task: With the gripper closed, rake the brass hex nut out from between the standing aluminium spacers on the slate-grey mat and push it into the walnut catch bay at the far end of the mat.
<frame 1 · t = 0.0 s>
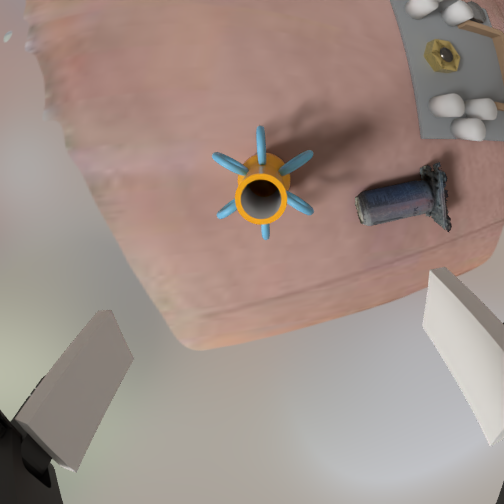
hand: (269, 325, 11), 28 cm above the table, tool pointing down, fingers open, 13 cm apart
cylinder: (265, 175, 36), on the table
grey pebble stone: (473, 13, 22), point 1 cm above the table, touching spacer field
dark piece: (393, 197, 36), on the table
nut: (437, 57, 27), point 1 cm above the table, touching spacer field
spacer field: (460, 63, 27), on the table
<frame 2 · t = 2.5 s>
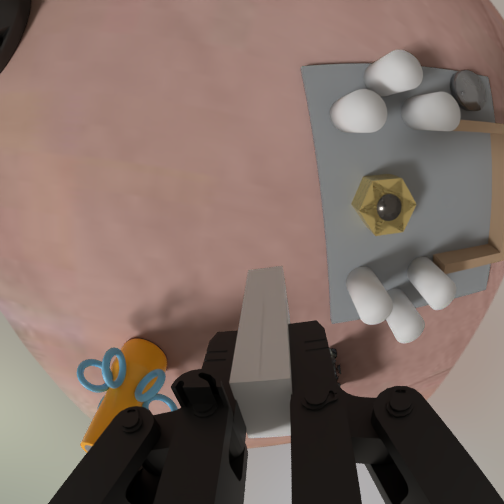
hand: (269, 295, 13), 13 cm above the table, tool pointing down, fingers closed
cylinder: (146, 355, 33), on the table
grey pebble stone: (465, 91, 18), point 1 cm above the table, touching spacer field
nut: (378, 200, 23), point 1 cm above the table, touching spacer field
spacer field: (422, 193, 24), on the table
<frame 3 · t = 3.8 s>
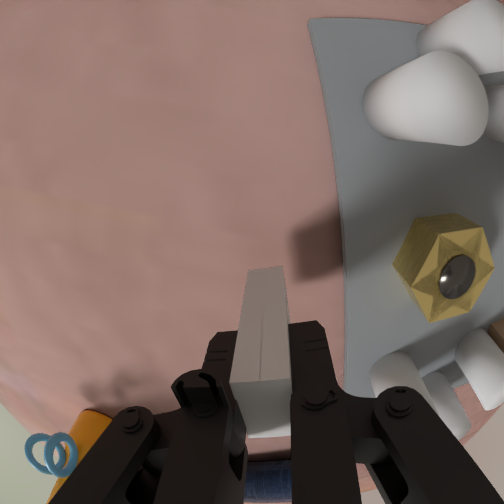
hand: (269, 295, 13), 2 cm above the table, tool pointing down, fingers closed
cylinder: (107, 426, 23), on the table
dark piece: (286, 458, 23), on the table
nut: (434, 256, 13), point 1 cm above the table, touching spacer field
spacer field: (490, 239, 13), on the table
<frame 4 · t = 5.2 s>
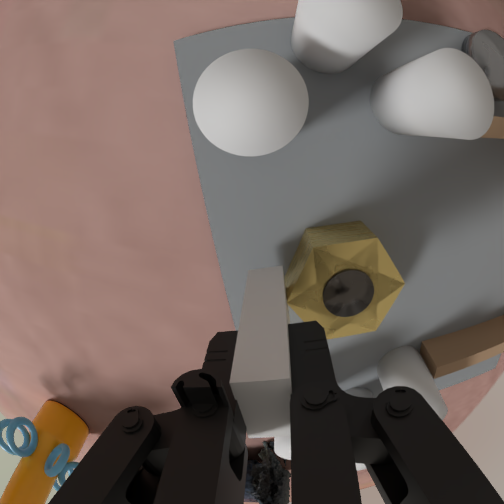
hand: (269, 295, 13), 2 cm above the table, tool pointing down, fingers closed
cylinder: (68, 416, 23), on the table
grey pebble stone: (487, 67, 9), point 1 cm above the table, touching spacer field
dark piece: (226, 458, 23), on the table
nut: (337, 268, 14), point 1 cm above the table, touching gripper
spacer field: (411, 249, 14), on the table
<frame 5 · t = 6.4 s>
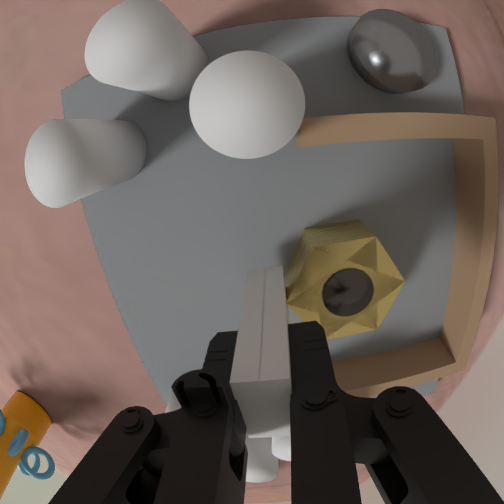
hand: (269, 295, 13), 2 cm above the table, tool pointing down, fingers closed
cylinder: (34, 406, 24), on the table
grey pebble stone: (388, 54, 10), point 1 cm above the table, touching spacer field
nut: (337, 268, 14), point 1 cm above the table, touching gripper
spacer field: (291, 269, 15), on the table
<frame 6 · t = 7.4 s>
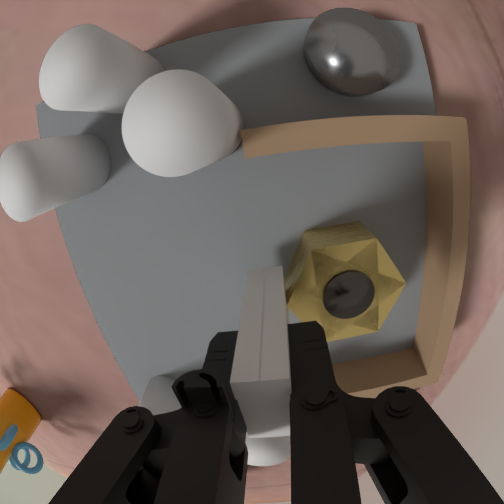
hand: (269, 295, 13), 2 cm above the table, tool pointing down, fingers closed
cylinder: (25, 403, 24), on the table
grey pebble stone: (348, 55, 10), point 1 cm above the table, touching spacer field
nut: (337, 270, 14), point 1 cm above the table, touching gripper, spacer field
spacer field: (252, 277, 15), on the table
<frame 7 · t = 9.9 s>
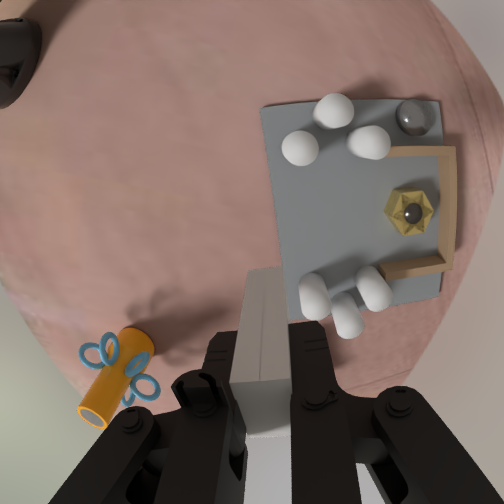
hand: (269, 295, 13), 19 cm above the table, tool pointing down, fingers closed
cylinder: (137, 342, 39), on the table
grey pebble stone: (411, 117, 25), point 1 cm above the table, touching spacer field
nut: (404, 208, 29), point 1 cm above the table, touching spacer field
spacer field: (367, 211, 30), on the table
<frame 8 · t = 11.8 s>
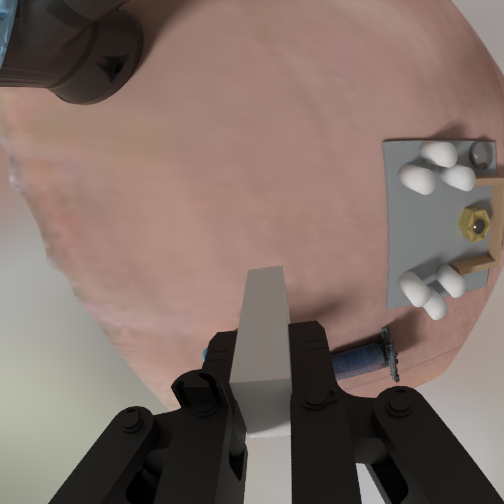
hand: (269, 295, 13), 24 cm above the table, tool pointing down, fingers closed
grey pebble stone: (478, 154, 30), point 1 cm above the table, touching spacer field
dark piece: (356, 350, 45), on the table
nut: (470, 221, 34), point 1 cm above the table, touching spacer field
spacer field: (446, 223, 35), on the table
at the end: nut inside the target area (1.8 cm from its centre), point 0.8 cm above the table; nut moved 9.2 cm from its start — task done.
